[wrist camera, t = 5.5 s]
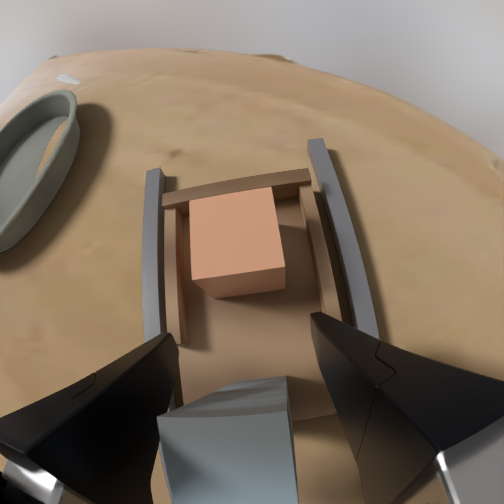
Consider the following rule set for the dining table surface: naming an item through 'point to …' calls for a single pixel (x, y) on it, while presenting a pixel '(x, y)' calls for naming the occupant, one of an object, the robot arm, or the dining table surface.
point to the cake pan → (34, 162)
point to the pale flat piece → (67, 79)
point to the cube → (236, 244)
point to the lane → (340, 229)
